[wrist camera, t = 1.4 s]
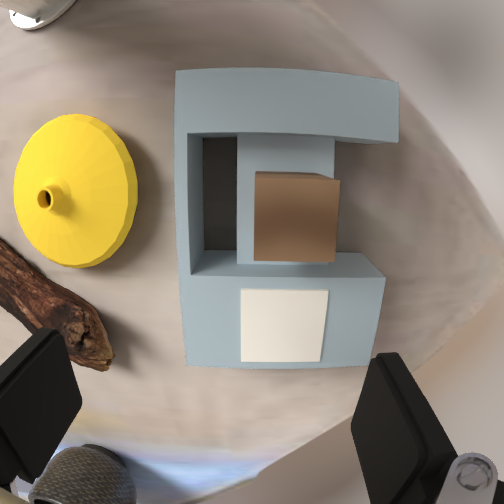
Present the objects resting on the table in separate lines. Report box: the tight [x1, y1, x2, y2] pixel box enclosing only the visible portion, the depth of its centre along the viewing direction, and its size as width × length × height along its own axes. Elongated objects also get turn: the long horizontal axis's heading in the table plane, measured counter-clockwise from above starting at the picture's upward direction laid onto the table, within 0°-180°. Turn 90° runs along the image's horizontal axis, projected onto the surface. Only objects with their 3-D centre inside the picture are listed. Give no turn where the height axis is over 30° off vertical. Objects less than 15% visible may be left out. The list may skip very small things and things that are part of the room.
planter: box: [28, 444, 137, 504], centre depth 36 cm, size 17×17×16 cm
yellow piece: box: [14, 114, 138, 268], centre depth 27 cm, size 16×16×7 cm
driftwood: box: [0, 239, 115, 372], centre depth 30 cm, size 23×8×8 cm, turn 63°
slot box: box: [174, 67, 399, 369], centre depth 27 cm, size 25×17×7 cm
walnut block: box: [254, 171, 340, 262], centre depth 23 cm, size 5×5×8 cm
